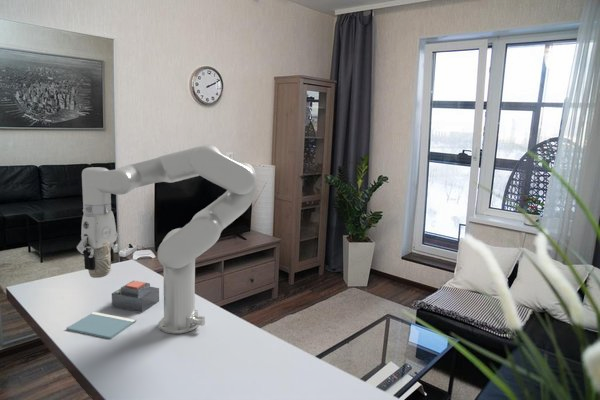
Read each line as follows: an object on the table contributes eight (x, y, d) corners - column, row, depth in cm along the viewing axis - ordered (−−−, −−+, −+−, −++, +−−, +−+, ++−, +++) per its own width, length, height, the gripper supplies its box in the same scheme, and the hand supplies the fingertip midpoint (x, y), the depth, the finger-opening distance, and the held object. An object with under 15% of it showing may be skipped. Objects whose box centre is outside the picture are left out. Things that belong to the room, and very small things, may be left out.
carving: (85, 280, 128) (83, 241, 126) (92, 271, 136) (90, 234, 133) (108, 279, 130) (106, 241, 127) (113, 270, 137) (112, 234, 135)
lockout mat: (136, 321, 140) (136, 319, 139) (110, 339, 128) (110, 336, 128) (94, 313, 144) (94, 311, 143) (66, 329, 132) (66, 327, 132)
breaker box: (159, 301, 155) (159, 282, 154) (142, 312, 146) (141, 293, 144) (130, 296, 158) (130, 278, 157) (112, 307, 149) (111, 288, 147)
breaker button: (145, 288, 153) (145, 282, 152) (137, 292, 148) (137, 287, 148) (134, 286, 154) (134, 280, 153) (125, 290, 149) (125, 285, 149)
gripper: (86, 216, 120) (89, 276, 123) (127, 204, 136) (128, 258, 139) (64, 213, 121) (67, 272, 125) (107, 202, 138) (108, 255, 141)
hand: (99, 264), depth 132 cm, fingers closed on carving, 7 cm apart
